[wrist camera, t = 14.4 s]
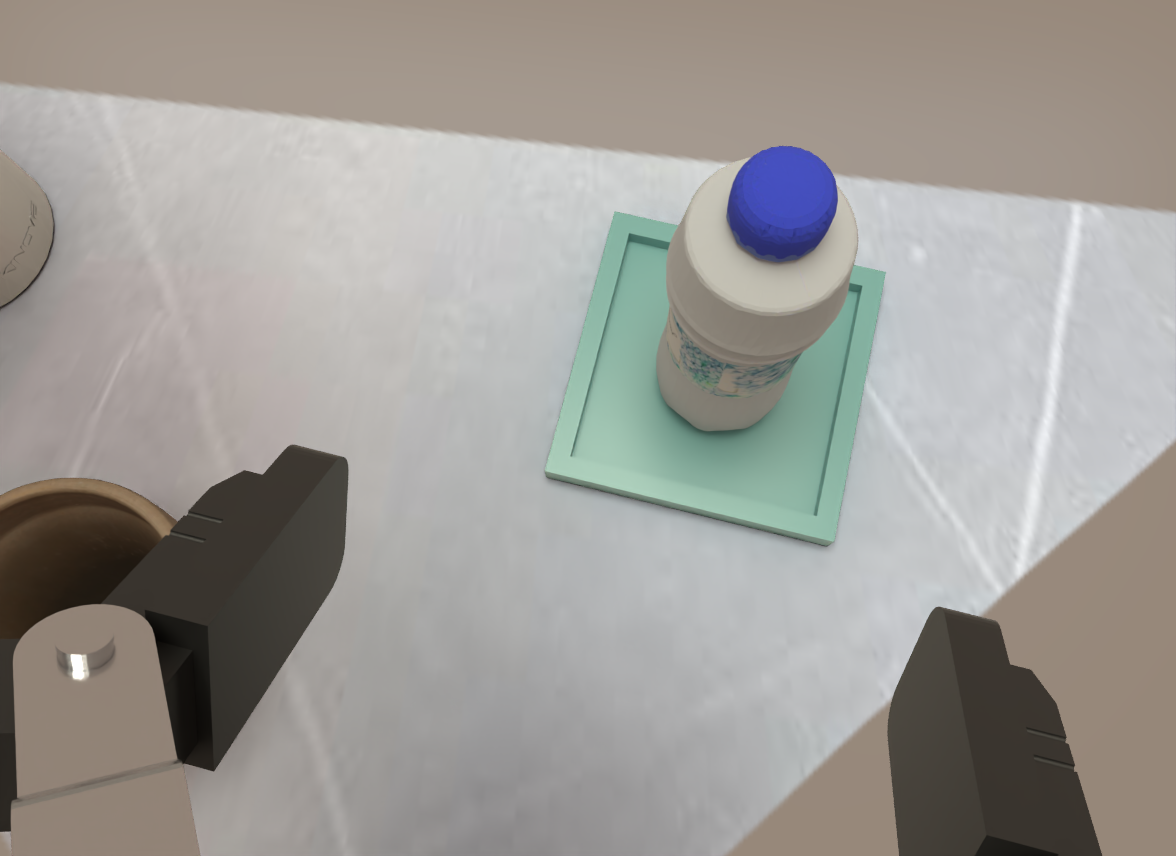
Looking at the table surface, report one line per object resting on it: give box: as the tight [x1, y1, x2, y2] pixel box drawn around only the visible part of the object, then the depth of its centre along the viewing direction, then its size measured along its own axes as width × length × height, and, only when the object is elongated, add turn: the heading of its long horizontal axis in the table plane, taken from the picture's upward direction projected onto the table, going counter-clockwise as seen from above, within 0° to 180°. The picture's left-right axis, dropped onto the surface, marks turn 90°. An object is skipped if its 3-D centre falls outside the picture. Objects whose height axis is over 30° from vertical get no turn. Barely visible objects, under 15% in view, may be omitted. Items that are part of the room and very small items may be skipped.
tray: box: [545, 212, 886, 546], centre depth 50 cm, size 14×14×2 cm
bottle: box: [656, 146, 858, 431], centre depth 40 cm, size 7×7×20 cm
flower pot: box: [0, 478, 177, 639], centre depth 43 cm, size 12×11×10 cm
